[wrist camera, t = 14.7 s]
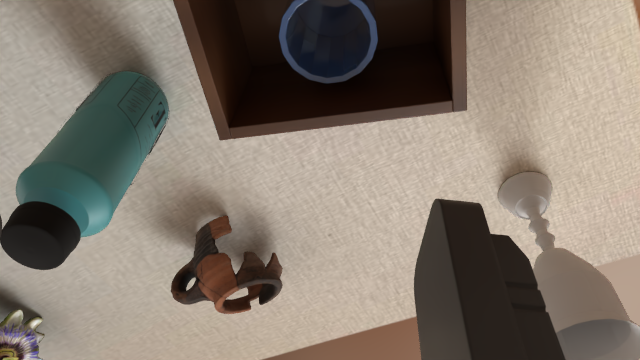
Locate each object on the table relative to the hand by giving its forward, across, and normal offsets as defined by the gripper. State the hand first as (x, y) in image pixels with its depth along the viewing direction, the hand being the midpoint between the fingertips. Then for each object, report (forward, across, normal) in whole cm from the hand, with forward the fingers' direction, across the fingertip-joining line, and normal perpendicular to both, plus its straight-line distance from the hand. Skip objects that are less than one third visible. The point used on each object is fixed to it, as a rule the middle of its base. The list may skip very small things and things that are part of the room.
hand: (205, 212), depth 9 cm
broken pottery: (+34, +7, +35) cm, 50 cm away
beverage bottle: (+34, +15, +17) cm, 41 cm away
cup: (+33, -2, +6) cm, 34 cm away
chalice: (+34, -22, +23) cm, 47 cm away
